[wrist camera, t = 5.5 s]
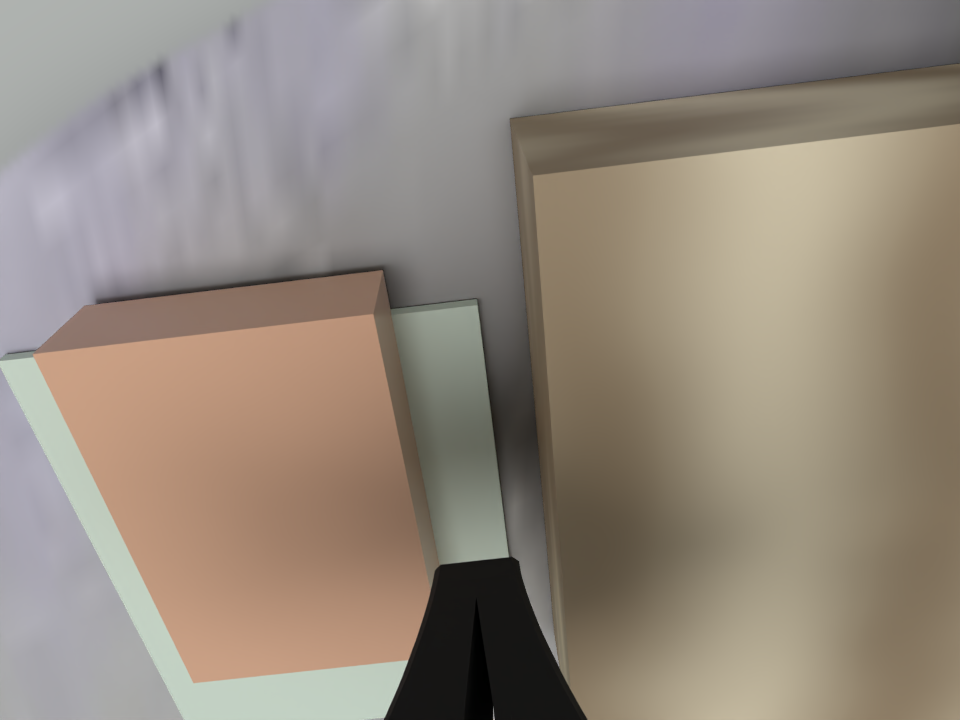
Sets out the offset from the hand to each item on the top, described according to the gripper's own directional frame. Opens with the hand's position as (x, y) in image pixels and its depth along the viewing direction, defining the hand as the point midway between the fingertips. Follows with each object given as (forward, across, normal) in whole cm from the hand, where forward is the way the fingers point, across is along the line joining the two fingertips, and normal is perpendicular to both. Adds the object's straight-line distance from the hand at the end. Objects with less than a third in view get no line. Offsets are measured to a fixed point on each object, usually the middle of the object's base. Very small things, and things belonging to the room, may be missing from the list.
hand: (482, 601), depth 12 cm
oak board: (+5, -8, 0) cm, 10 cm away
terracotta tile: (+2, +4, 0) cm, 5 cm away
